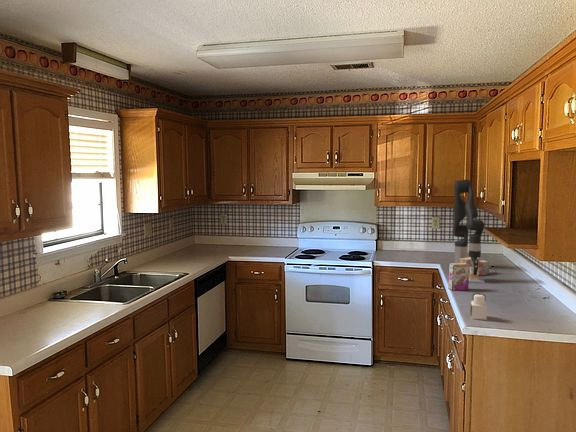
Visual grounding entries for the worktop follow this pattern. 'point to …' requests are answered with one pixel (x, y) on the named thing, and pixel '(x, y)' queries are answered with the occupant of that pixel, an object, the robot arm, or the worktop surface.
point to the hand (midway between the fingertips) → (474, 273)
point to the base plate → (477, 281)
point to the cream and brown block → (471, 275)
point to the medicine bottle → (478, 307)
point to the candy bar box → (458, 276)
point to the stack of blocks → (482, 265)
